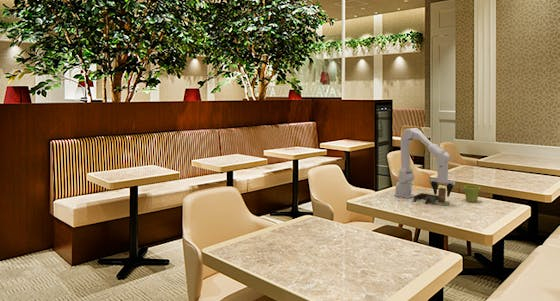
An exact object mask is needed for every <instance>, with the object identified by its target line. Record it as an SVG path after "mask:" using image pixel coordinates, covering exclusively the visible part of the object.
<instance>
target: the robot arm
mask: <svg viewBox="0 0 560 301" xmlns="http://www.w3.org/2000/svg"><path fill="white" fill-rule="evenodd" d="M413 140H417V141H420V142H421V143H422V144H423V145H425V147H427V148H428V149H427V150H428V152H429V153H431V154H432V155H433V156H434V157H435V158H436V162H437V177H436V178H431V177H430V178H429V183H430V185H431V187H432V190H433V193H434V194H433V195H437V194H438V185H439V184H444V185H446V198H447V197H448V198H450V196H451V192H452V191H453V187H455V185H456V181H453V180H449V178H448V177H449V161H451V155H450V153H449V152H448V151H445V150H443V148H441V147H440V145H439V144H436V143H433V142H431V141H430V140H429V138H427V136H426V135H424V133H423V132H422V131H421V130H420V129H419V128H417V127H411V128H405V129H404V130H403V131H402V136H401V138H400V164H401V165H400V166H401V167H400V169H399V171H398V175H397V180H398V181H397V182H396V184H395V193H394V196H395V197H399V198H405V199H410V198H413V196H415V195H414V194H412V192H413V191H412V188H413V185H412V184H413V180H415V175H414V172H413V169H412V168H411V152H410V150H411V148H410V144H411V142H412V141H413Z"/></svg>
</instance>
